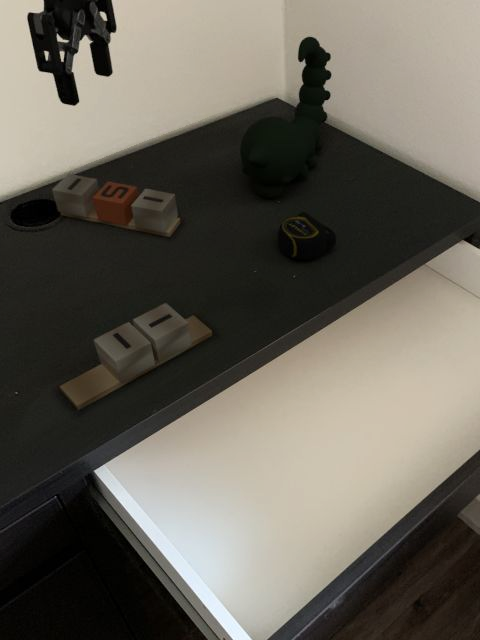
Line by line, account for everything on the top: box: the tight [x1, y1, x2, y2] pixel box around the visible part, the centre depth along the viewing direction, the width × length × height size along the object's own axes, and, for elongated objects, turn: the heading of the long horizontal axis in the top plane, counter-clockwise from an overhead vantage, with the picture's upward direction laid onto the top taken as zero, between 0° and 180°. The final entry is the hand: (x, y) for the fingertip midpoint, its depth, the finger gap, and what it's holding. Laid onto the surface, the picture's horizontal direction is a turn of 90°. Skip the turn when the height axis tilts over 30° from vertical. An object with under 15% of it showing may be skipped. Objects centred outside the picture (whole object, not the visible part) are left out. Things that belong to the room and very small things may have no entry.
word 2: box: [59, 302, 213, 411], centre depth 74 cm, size 18×4×4 cm, turn 132°
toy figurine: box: [239, 36, 332, 200], centre depth 97 cm, size 9×19×25 cm
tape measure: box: [277, 211, 337, 261], centre depth 90 cm, size 7×7×4 cm
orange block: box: [93, 181, 140, 225], centre depth 93 cm, size 4×4×4 cm
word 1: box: [51, 173, 182, 238], centre depth 93 cm, size 17×4×4 cm, turn 73°
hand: (87, 88), depth 82 cm, fingers open, 8 cm apart
